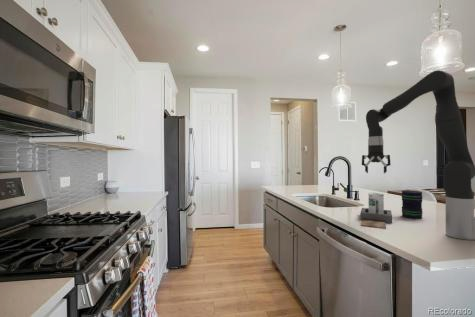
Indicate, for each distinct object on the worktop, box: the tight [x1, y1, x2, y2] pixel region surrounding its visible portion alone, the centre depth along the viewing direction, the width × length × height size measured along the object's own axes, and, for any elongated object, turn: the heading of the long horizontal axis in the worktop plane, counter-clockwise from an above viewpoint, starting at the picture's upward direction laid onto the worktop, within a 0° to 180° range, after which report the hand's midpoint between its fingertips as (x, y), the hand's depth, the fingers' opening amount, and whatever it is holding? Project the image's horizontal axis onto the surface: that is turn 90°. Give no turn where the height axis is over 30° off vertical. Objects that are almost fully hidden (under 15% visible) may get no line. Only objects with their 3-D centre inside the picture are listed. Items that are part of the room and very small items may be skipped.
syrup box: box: [367, 192, 385, 214], centre depth 137 cm, size 6×6×14 cm
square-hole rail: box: [359, 207, 393, 224], centre depth 137 cm, size 15×15×4 cm
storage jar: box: [401, 189, 423, 220], centre depth 140 cm, size 10×10×15 cm
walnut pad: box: [360, 220, 387, 230], centre depth 125 cm, size 11×11×1 cm
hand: (375, 173), depth 137 cm, fingers open, 8 cm apart
